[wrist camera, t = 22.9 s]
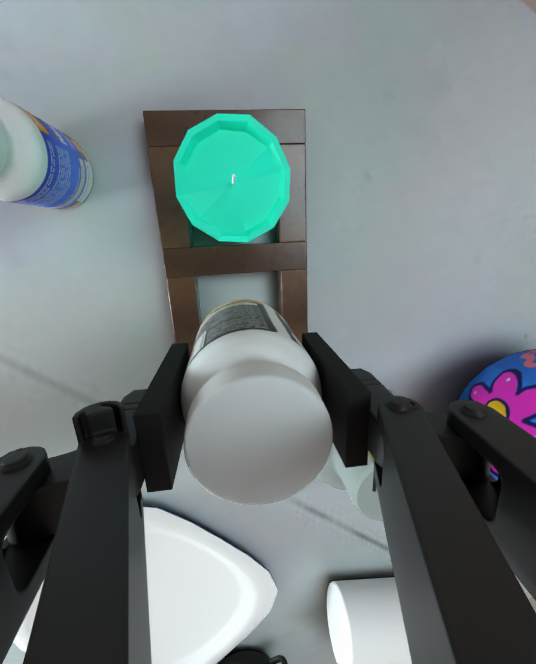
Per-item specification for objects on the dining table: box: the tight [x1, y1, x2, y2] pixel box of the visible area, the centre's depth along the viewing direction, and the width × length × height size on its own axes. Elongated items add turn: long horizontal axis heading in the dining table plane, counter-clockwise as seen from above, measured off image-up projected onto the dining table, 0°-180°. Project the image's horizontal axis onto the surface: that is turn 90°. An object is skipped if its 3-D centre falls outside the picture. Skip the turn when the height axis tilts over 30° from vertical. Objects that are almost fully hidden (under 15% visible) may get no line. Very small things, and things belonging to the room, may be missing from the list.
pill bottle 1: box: [0, 96, 93, 210], centre depth 19 cm, size 5×5×10 cm
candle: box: [173, 114, 290, 242], centre depth 20 cm, size 6×6×12 cm
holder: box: [143, 109, 308, 356], centre depth 26 cm, size 21×11×2 cm, turn 3°
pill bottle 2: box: [181, 300, 333, 505], centre depth 14 cm, size 6×6×10 cm
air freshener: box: [316, 390, 396, 521], centre depth 28 cm, size 11×8×10 cm
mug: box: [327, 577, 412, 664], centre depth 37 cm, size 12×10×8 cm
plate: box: [13, 505, 278, 664], centre depth 36 cm, size 25×25×2 cm
